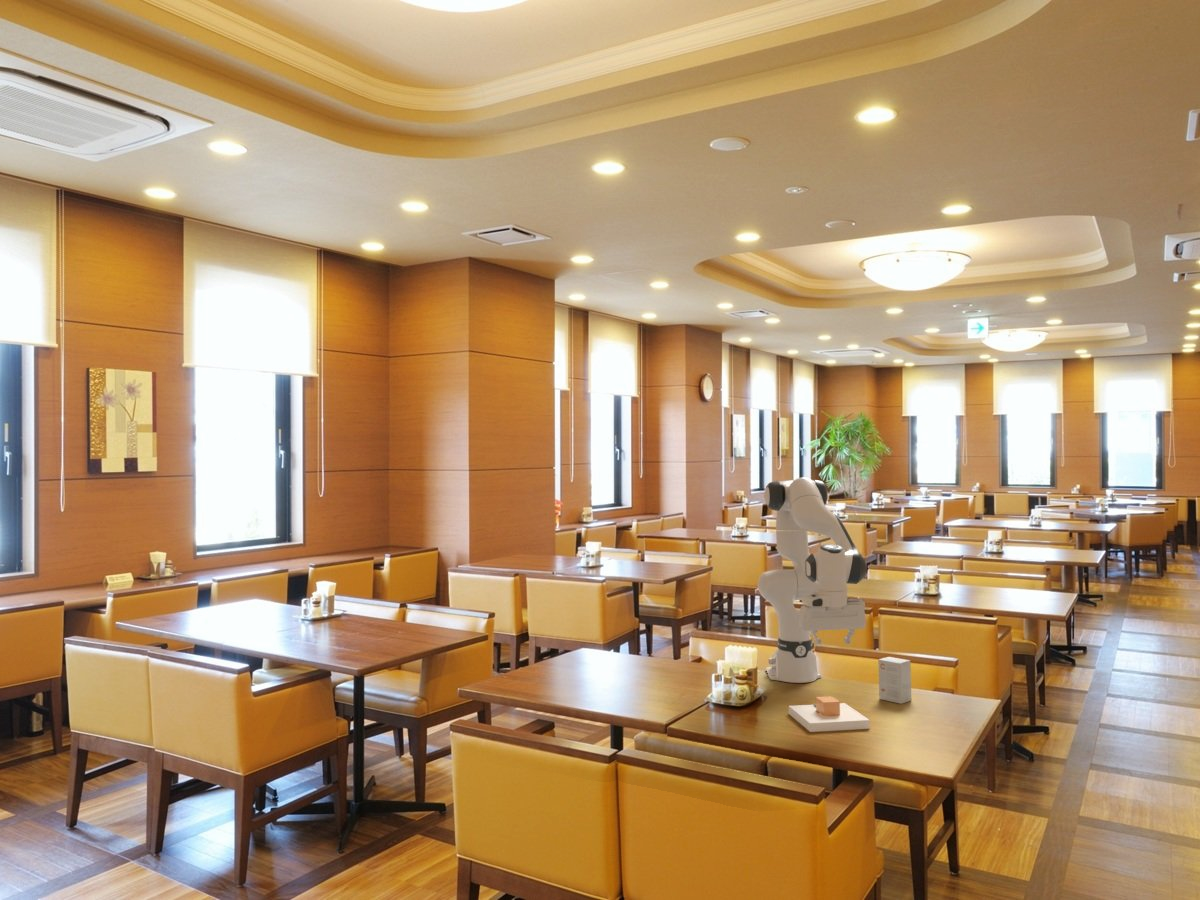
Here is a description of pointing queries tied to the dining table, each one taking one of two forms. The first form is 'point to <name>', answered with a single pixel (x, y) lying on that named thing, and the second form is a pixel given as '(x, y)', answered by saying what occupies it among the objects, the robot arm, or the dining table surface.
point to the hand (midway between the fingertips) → (832, 643)
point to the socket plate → (828, 718)
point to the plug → (827, 706)
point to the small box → (895, 680)
